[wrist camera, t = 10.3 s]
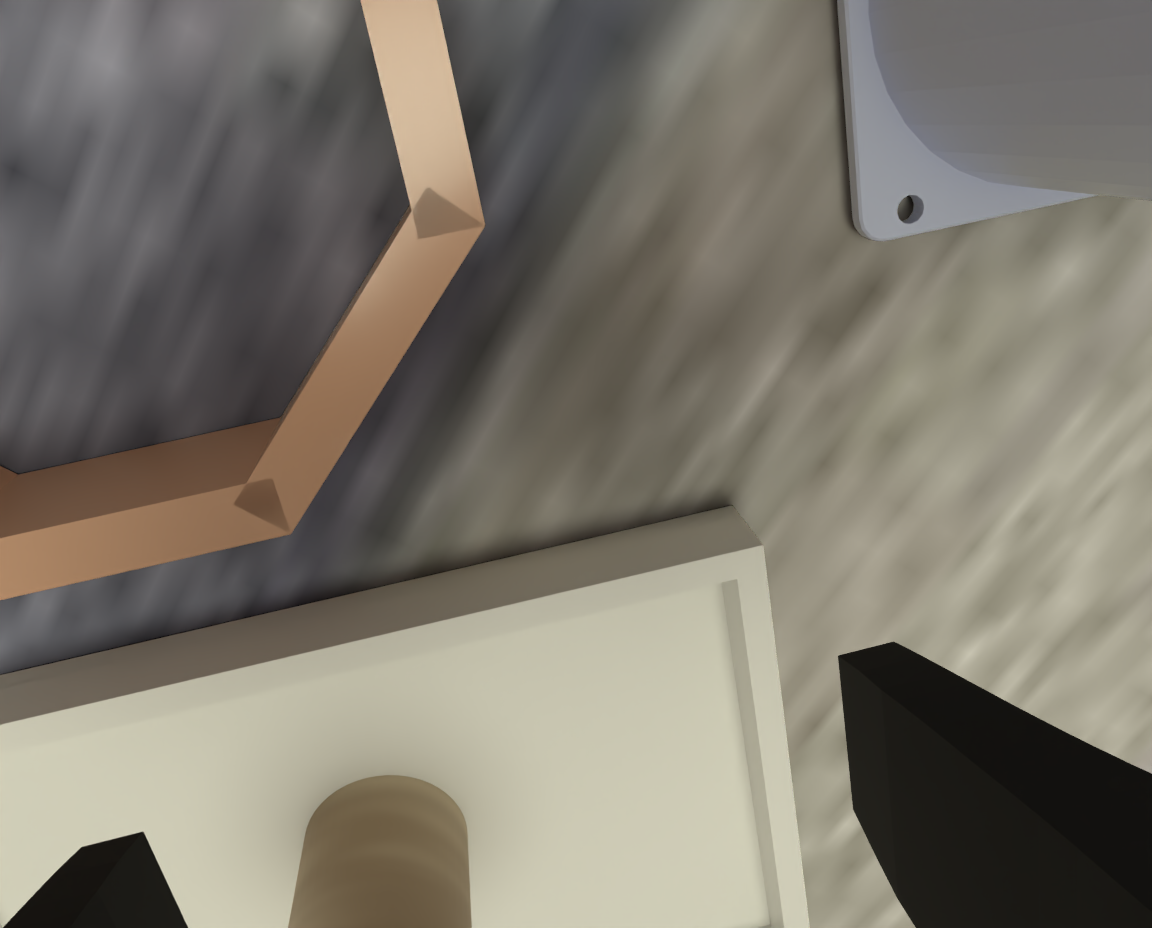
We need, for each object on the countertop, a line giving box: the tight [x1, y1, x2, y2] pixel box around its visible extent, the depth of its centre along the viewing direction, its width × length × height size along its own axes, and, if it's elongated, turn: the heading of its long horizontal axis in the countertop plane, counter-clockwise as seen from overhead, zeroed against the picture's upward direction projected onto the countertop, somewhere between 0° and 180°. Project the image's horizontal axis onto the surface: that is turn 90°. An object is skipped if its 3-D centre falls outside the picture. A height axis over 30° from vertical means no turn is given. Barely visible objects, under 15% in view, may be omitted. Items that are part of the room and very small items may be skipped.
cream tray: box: [0, 505, 810, 928], centre depth 20 cm, size 18×12×2 cm, turn 100°
